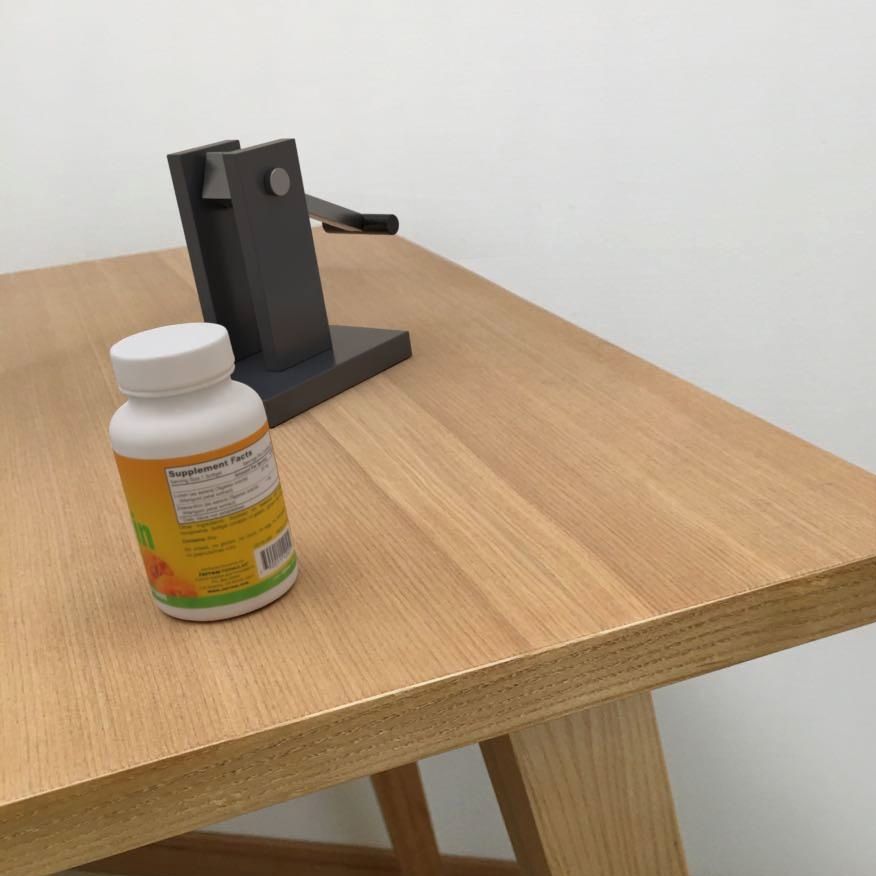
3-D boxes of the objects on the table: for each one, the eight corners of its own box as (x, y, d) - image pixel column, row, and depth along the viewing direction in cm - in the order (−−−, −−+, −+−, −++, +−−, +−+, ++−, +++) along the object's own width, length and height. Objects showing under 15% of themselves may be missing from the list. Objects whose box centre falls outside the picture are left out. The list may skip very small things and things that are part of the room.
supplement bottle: (149, 578, 48) (83, 335, 43) (286, 544, 49) (235, 307, 45) (162, 639, 43) (89, 375, 39) (313, 600, 44) (259, 342, 40)
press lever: (332, 245, 75) (336, 205, 74) (397, 247, 72) (401, 206, 72) (181, 198, 64) (186, 152, 64) (251, 199, 62) (256, 150, 62)
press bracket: (284, 343, 76) (241, 128, 70) (413, 355, 71) (378, 124, 65) (136, 409, 67) (74, 169, 61) (271, 428, 62) (217, 168, 56)
